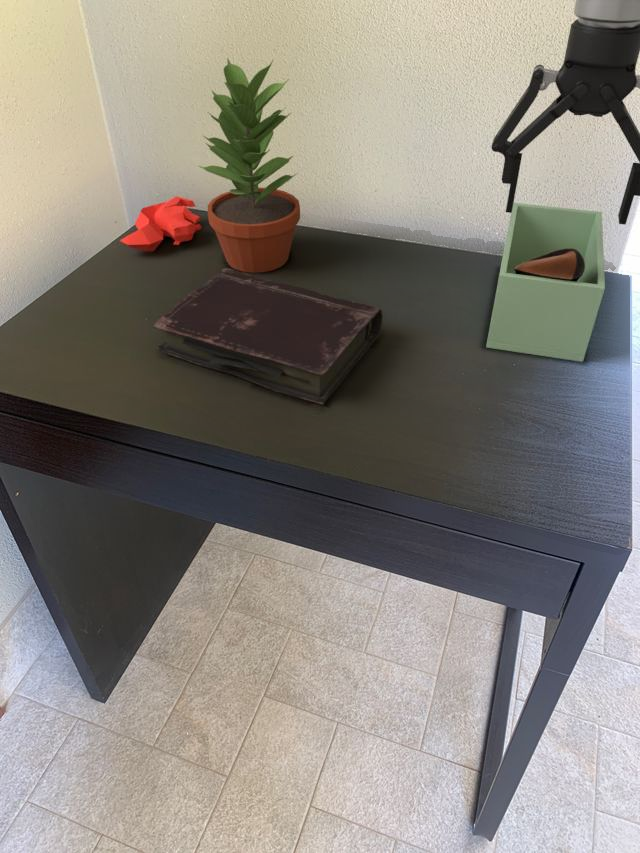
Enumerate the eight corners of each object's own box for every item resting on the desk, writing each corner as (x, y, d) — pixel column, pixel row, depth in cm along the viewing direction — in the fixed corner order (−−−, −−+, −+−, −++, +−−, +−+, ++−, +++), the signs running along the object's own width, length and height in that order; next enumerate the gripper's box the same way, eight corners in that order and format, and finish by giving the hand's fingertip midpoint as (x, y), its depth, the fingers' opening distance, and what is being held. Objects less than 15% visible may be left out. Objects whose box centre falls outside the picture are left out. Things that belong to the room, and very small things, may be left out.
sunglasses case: (511, 284, 102) (543, 248, 101) (548, 314, 101) (580, 278, 100) (512, 268, 85) (550, 224, 83) (557, 303, 84) (596, 260, 82)
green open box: (582, 362, 90) (605, 288, 83) (485, 347, 93) (499, 274, 85) (583, 279, 106) (601, 211, 99) (500, 269, 109) (512, 202, 102)
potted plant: (216, 237, 118) (194, 42, 98) (303, 238, 118) (299, 43, 98) (201, 280, 107) (173, 70, 87) (298, 281, 106) (291, 70, 87)
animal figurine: (113, 256, 113) (106, 227, 110) (156, 218, 124) (151, 191, 121) (175, 266, 111) (171, 237, 107) (214, 227, 121) (211, 199, 118)
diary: (230, 293, 104) (227, 263, 101) (381, 334, 95) (383, 302, 92) (154, 357, 92) (148, 325, 88) (320, 411, 83) (320, 377, 79)
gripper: (732, 18, 72) (668, 212, 86) (492, 9, 77) (468, 192, 91) (745, 33, 66) (674, 237, 80) (485, 22, 72) (461, 215, 86)
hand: (564, 214), depth 86 cm, fingers open, 13 cm apart
